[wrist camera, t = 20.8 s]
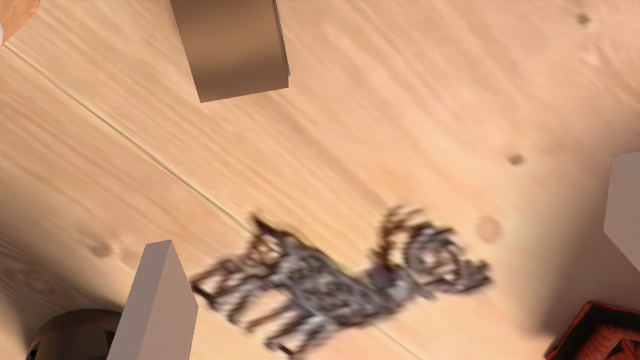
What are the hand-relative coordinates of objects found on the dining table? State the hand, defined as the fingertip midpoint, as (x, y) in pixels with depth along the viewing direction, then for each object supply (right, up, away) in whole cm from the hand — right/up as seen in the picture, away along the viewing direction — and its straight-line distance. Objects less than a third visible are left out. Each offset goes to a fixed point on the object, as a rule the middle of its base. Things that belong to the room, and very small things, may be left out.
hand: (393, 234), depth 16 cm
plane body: (-10, +17, +25) cm, 32 cm away
